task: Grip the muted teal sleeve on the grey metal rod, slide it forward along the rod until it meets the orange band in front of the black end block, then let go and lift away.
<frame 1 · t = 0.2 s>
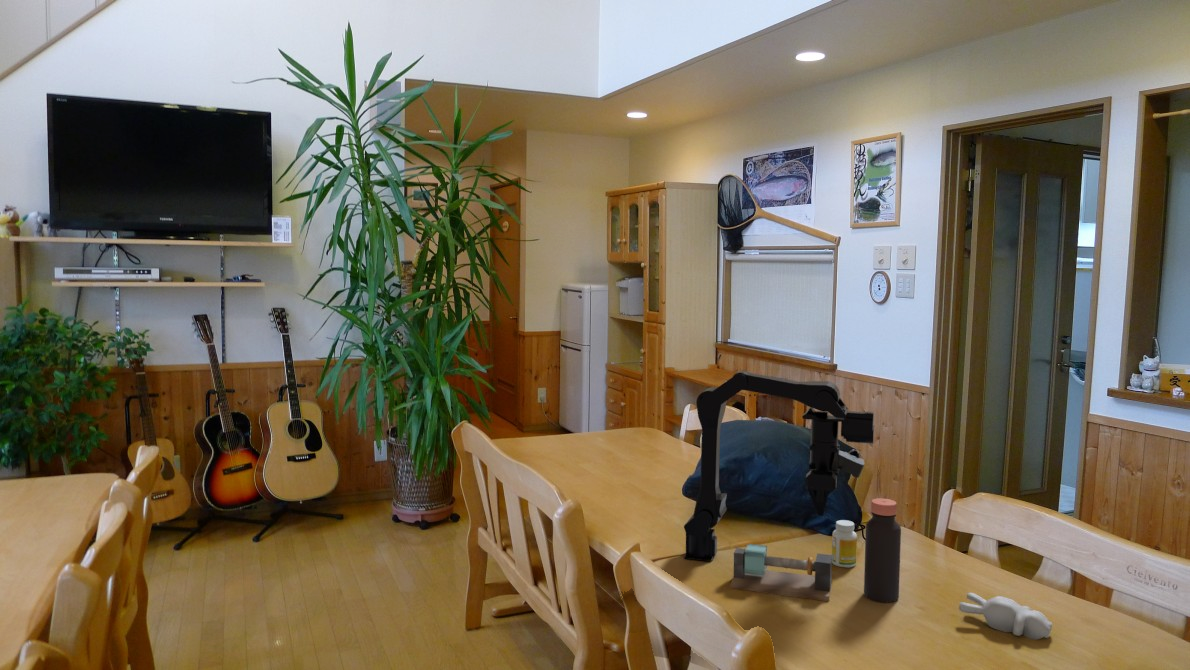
hand: (821, 509, 176), 14 cm above the table, tool pointing down, fingers open, 9 cm apart
bunny figurine: (1004, 628, 151), on the table
rod stand: (781, 585, 170), on the table
water bottle: (881, 597, 164), on the table
supplement bottle: (843, 564, 182), on the table
sleeve: (755, 559, 172), point 5 cm above the table, slide at 0.0 cm
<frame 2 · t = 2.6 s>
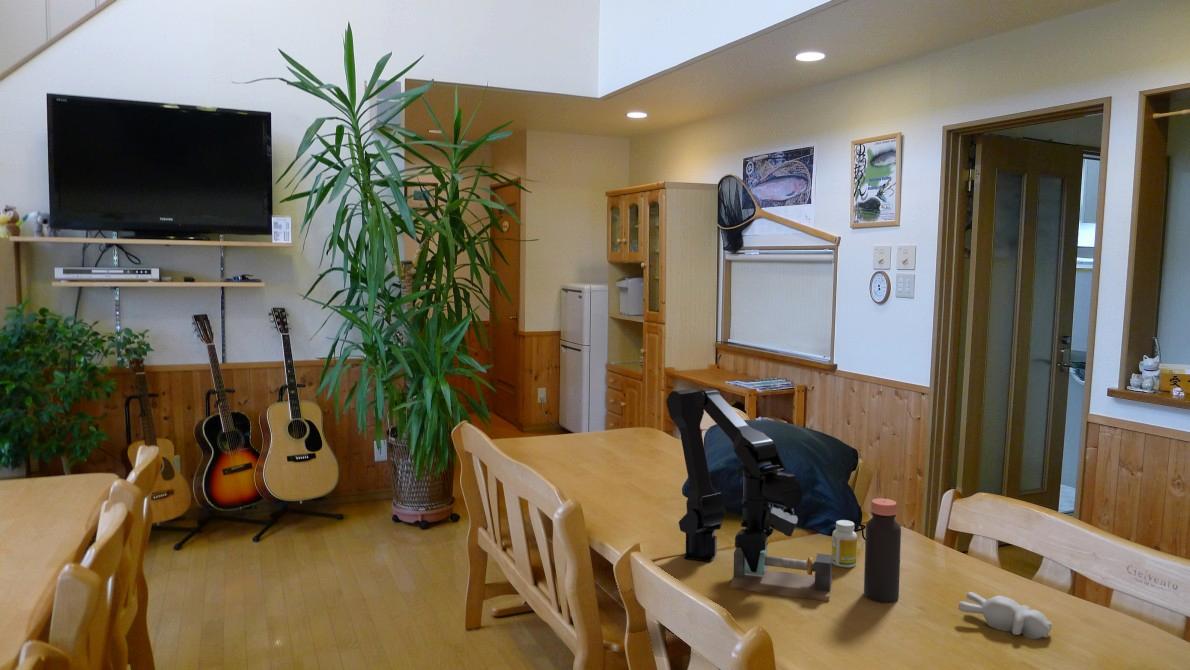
hand: (755, 567, 172), 3 cm above the table, tool pointing down, fingers closed on sleeve, 5 cm apart
sleeve: (755, 559, 172), point 5 cm above the table, slide at 0.0 cm, touching gripper
everything else where it was.
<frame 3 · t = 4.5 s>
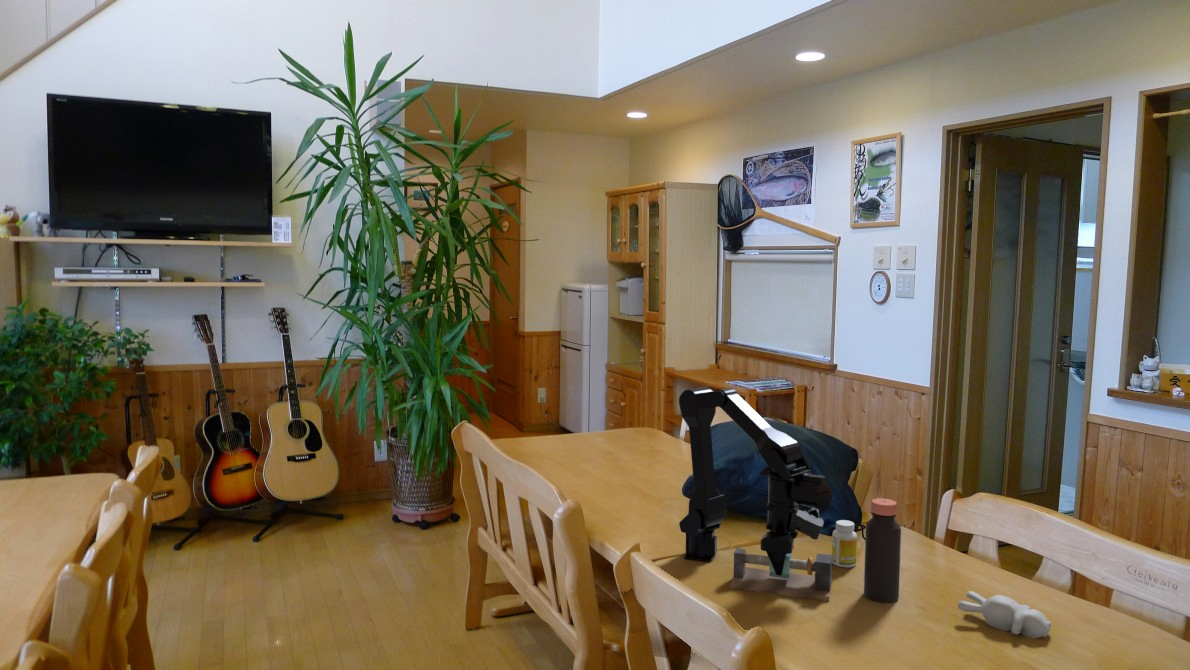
hand: (780, 570, 170), 3 cm above the table, tool pointing down, fingers closed on sleeve, 5 cm apart
sleeve: (780, 562, 170), point 5 cm above the table, slide at 5.2 cm, touching gripper
everything else where it was.
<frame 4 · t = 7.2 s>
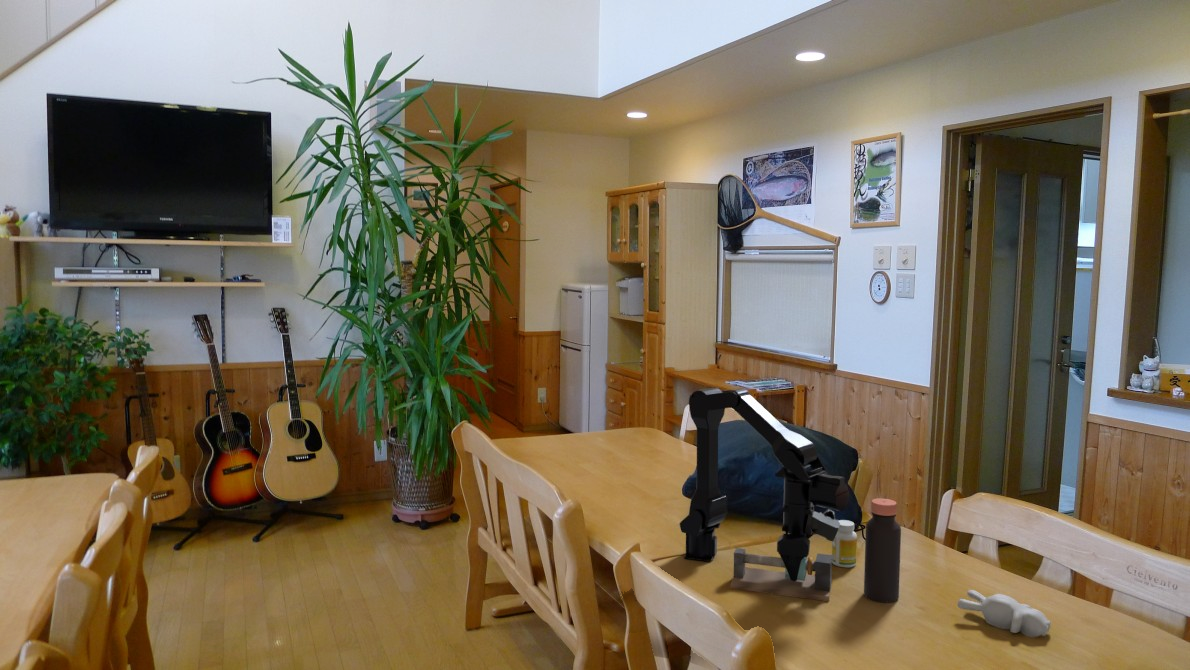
hand: (796, 572, 169), 3 cm above the table, tool pointing down, fingers open, 9 cm apart
sleeve: (796, 564, 169), point 5 cm above the table, slide at 8.5 cm
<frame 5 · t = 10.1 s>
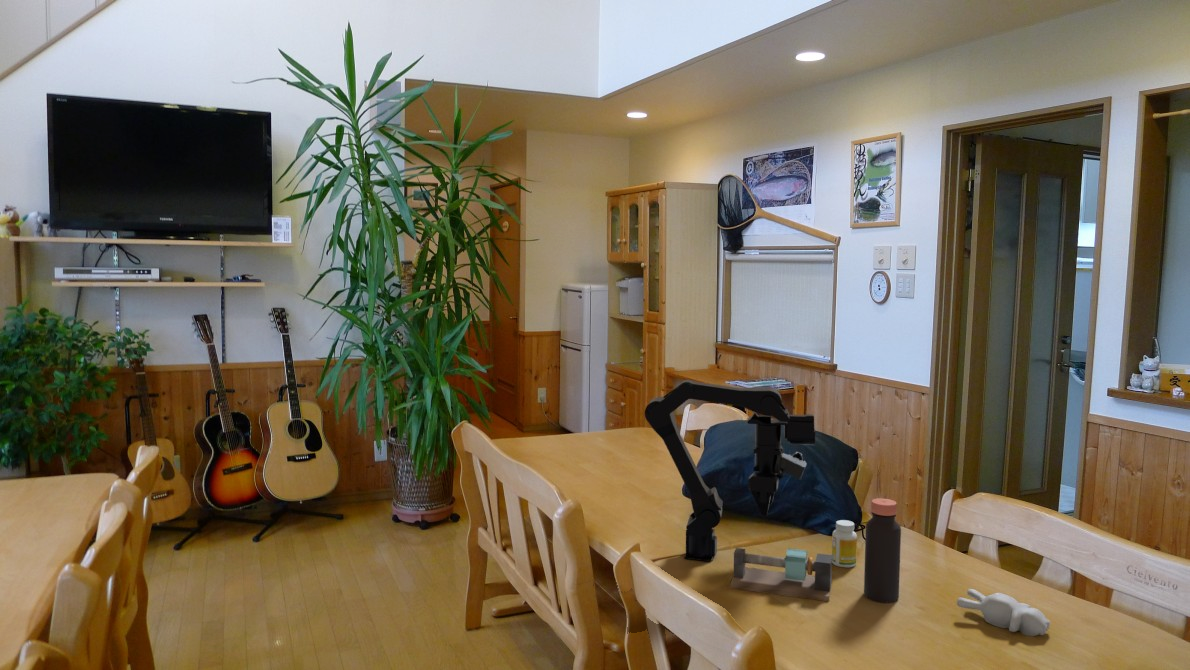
hand: (767, 509, 183), 12 cm above the table, tool pointing down, fingers open, 9 cm apart
at the end: sleeve slide at 8.5 cm; the gripper is holding nothing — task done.
